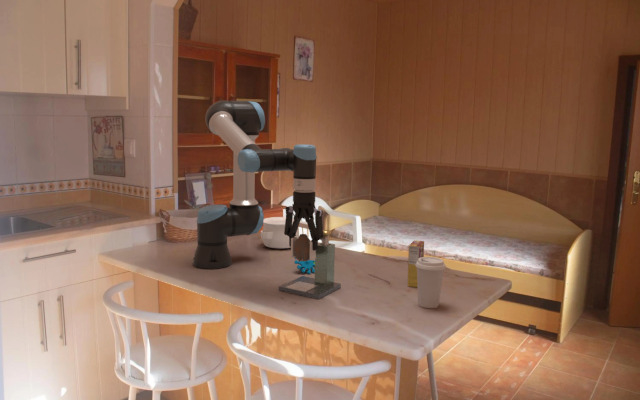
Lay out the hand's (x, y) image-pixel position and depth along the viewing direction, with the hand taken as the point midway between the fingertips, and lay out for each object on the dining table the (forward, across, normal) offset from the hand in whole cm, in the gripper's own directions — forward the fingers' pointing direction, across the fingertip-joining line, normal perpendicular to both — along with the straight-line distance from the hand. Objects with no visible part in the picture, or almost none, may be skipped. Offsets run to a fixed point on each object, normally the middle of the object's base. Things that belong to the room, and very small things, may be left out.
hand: (303, 257), depth 187 cm
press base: (+12, +1, +3) cm, 12 cm away
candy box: (+12, +29, +31) cm, 44 cm away
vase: (+1, 0, 0) cm, 1 cm away
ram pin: (+2, +4, +8) cm, 9 cm away
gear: (+12, -12, +22) cm, 27 cm away
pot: (+12, -43, +48) cm, 66 cm away
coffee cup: (+12, +41, +12) cm, 44 cm away
